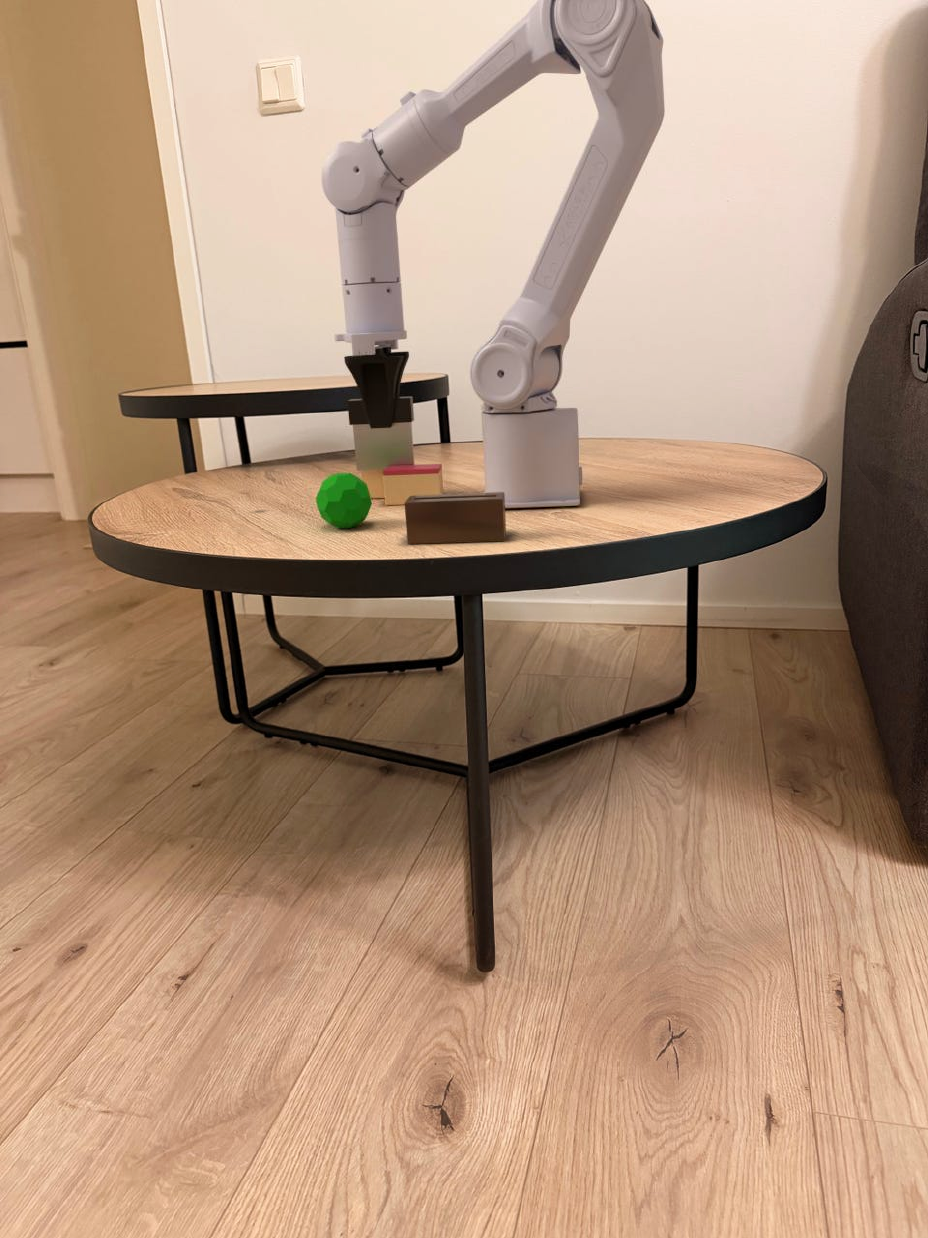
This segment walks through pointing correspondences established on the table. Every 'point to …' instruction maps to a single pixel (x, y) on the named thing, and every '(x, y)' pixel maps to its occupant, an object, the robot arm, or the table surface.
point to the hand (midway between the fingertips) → (383, 426)
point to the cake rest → (411, 482)
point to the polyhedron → (343, 500)
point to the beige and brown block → (382, 437)
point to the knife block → (455, 518)
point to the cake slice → (374, 483)
